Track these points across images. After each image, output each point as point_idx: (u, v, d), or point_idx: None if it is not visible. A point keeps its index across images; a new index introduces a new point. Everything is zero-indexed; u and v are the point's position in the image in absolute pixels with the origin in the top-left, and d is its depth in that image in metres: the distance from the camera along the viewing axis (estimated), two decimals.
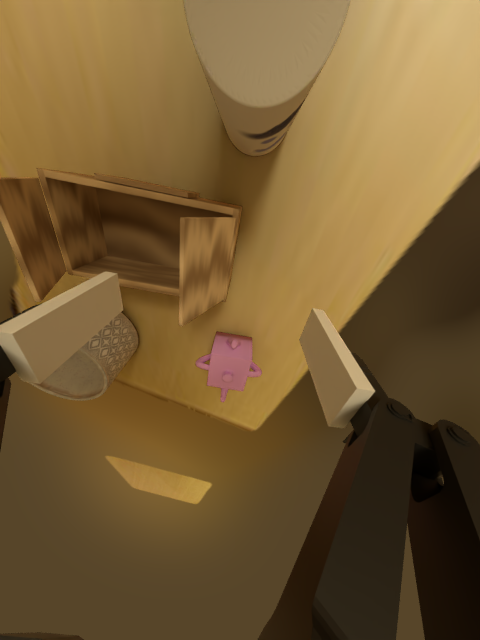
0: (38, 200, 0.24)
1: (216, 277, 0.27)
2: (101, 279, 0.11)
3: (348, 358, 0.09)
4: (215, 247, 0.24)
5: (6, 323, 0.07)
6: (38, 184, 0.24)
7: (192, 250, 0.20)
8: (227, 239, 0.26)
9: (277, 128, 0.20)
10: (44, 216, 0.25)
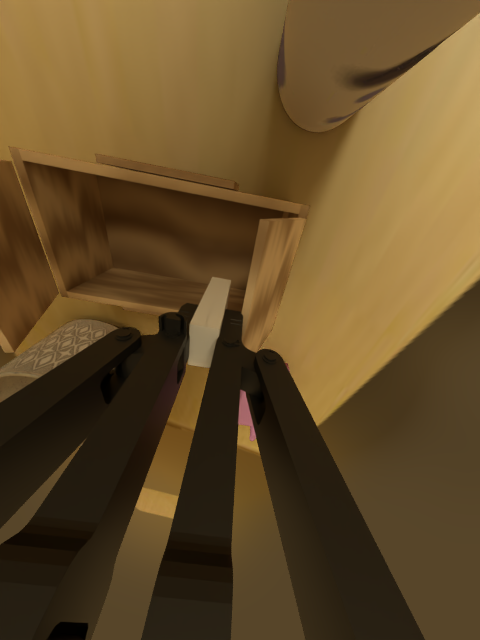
0: (10, 195, 0.16)
1: (273, 305, 0.19)
2: (217, 284, 0.14)
3: (218, 309, 0.11)
4: (283, 264, 0.16)
5: (193, 319, 0.10)
6: (11, 170, 0.16)
7: (264, 275, 0.12)
8: (293, 250, 0.17)
9: (416, 59, 0.11)
10: (22, 218, 0.17)
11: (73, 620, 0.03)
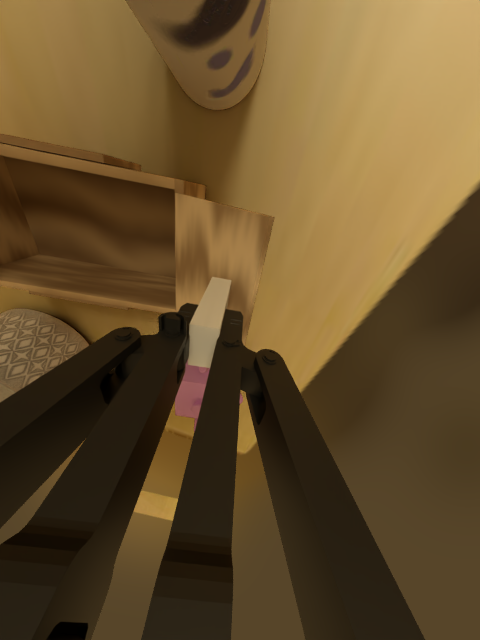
0: None
1: None
2: (217, 284, 0.14)
3: (218, 309, 0.11)
4: None
5: (193, 319, 0.10)
6: None
7: None
8: None
9: (219, 11, 0.11)
10: None
11: (73, 619, 0.03)
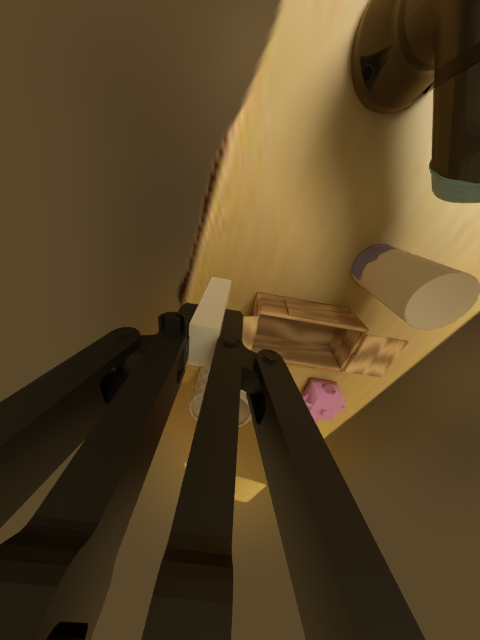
0: (248, 325, 0.44)
1: None
2: (217, 284, 0.14)
3: (218, 310, 0.11)
4: None
5: (193, 319, 0.10)
6: (255, 319, 0.44)
7: None
8: None
9: None
10: (248, 331, 0.45)
11: (73, 619, 0.03)
